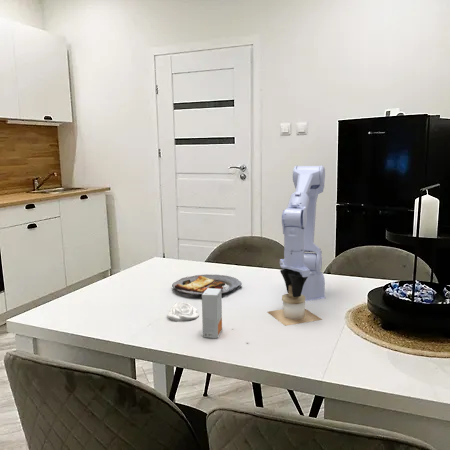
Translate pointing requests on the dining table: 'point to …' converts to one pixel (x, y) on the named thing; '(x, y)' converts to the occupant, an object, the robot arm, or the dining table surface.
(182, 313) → the rose
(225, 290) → the food plate
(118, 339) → the dining table surface
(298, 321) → the square wooden coaster
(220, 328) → the skincare box
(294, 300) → the lid
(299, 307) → the jar
